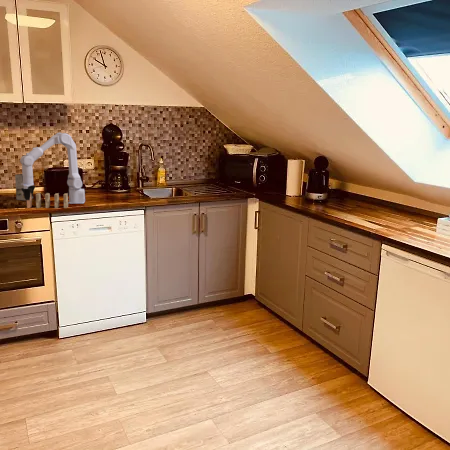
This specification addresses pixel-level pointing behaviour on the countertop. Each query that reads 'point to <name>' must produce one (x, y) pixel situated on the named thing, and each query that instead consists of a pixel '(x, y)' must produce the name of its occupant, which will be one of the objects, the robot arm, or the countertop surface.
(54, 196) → the domino
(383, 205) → the countertop surface
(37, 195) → the domino
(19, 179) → the coffee box
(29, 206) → the end domino
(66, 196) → the domino
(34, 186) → the robot arm
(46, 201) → the domino
